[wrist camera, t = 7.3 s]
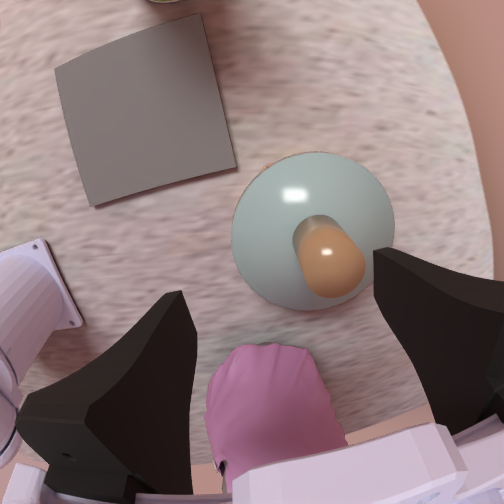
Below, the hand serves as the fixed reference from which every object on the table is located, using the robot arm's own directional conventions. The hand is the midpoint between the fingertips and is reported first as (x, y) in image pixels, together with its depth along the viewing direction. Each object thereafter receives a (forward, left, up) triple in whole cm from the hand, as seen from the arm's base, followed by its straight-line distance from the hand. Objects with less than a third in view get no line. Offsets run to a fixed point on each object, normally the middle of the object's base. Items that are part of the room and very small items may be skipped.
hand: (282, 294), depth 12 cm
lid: (+3, -1, -7) cm, 7 cm away
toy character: (-3, -14, -10) cm, 17 cm away
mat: (-6, +8, -10) cm, 14 cm away
